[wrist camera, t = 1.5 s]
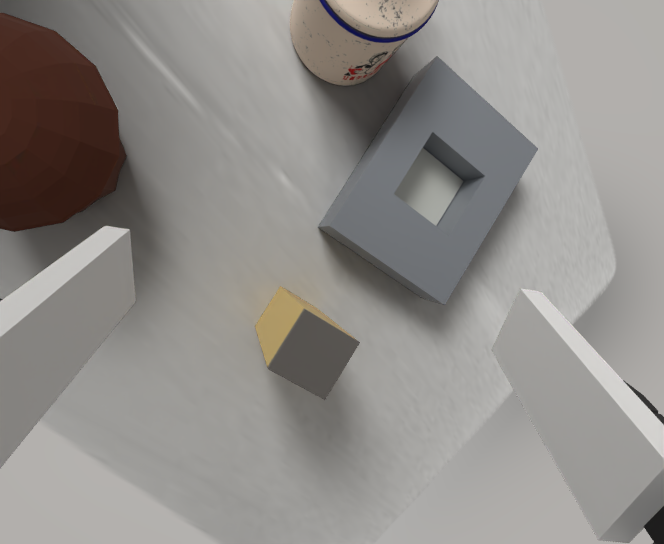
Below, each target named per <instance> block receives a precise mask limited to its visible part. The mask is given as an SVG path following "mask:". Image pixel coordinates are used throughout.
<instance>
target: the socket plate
mask: <svg viewBox="0 0 664 544" xmlns="http://www.w3.org/2000/svg"><path fill="white" fill-rule="evenodd" d="M537 150H538V148H537V147H536V146H535V145H533V144H532V143H531V142H530V141H529V140H528V139H527V138H526V137H525V136H524V135H523V134H521V133H520V132H519V131H518V130H517V129H516V128H515V127H514V126H513V125H512V124H511V123H509V122H508V121H507V120H506V119H505V118H504V117H503V116H502V115H501V114H500V113H499V112H497V111H496V110H495V109H494V108H493V107H492V106H491V105H490V104H489V103H488V102H487V101H485V100H484V99H483V98H482V97H481V96H480V95H479V94H478V93H477V92H476V91H475V90H473V89H472V88H471V87H470V86H469V85H468V84H467V83H466V82H465V81H464V80H463V79H461V78H460V77H459V76H458V75H457V74H456V73H455V72H454V71H453V70H452V69H451V68H449V67H448V66H447V65H446V64H445V63H444V62H443V61H442V60H441V59H440V58H439V57H437V56H436V57H435V58H434V59H433V60H432V61H431V62H430V63H428V64H427V65H426V66H425V67H424V68H423V69H421V70H420V71H419V72H418V73H417V74H416V75H415V76H413V78H412V80H411V81H410V83H409V84H408V86H407V87H406V89H405V91H404V92H403V94H402V95H401V97H400V98H399V100H398V102H397V103H396V105H395V106H394V108H393V110H392V111H391V113H390V114H389V116H388V117H387V119H386V121H385V122H384V124H383V125H382V127H381V128H380V130H379V132H378V133H377V135H376V136H375V138H374V139H373V141H372V143H371V144H370V146H369V147H368V149H367V151H366V152H365V154H364V155H363V157H362V158H361V160H360V162H359V163H358V165H357V166H356V168H355V169H354V171H353V173H352V174H351V176H350V177H349V179H348V180H347V182H346V184H345V185H344V187H343V188H342V190H341V192H340V193H339V195H338V196H337V198H336V199H335V201H334V203H333V204H332V206H331V207H330V209H329V210H328V212H327V214H326V215H325V217H324V218H323V220H322V222H321V223H320V225H319V226H318V228H320V229H321V230H323V231H324V232H326V233H327V234H329V235H330V236H332V237H333V238H335V239H336V240H338V241H339V242H340V243H342V244H343V245H345V246H346V247H348V248H349V249H351V250H352V251H354V252H355V253H357V254H358V255H360V256H361V257H363V258H364V259H365V260H367V261H368V262H370V263H371V264H373V265H374V266H376V267H377V268H379V269H380V270H382V271H383V272H385V273H386V274H387V275H389V276H390V277H392V278H393V279H395V280H396V281H398V282H399V283H401V284H402V285H404V286H405V287H407V288H408V289H409V290H411V291H412V292H414V293H415V294H417V295H418V296H420V297H421V298H424V299H427V300H430V301H433V302H437V303H440V304H443V305H445V304H446V302H447V300H448V299H449V297H450V295H451V294H452V292H453V290H454V289H455V287H456V285H457V284H458V282H459V280H460V279H461V277H462V275H463V274H464V272H465V270H466V269H467V267H468V265H469V264H470V262H471V260H472V259H473V257H474V255H475V254H476V252H477V250H478V249H479V247H480V245H481V244H482V242H483V240H484V239H485V237H486V235H487V234H488V232H489V230H490V229H491V227H492V225H493V224H494V222H495V220H496V218H497V217H498V215H499V213H500V212H501V210H502V208H503V207H504V205H505V203H506V202H507V200H508V198H509V197H510V195H511V193H512V192H513V190H514V188H515V187H516V185H517V183H518V182H519V180H520V178H521V177H522V175H523V173H524V172H525V170H526V168H527V167H528V165H529V163H530V162H531V160H532V158H533V157H534V155H535V153H536V152H537Z"/></svg>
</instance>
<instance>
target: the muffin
mask: <svg viewBox="0 0 664 544" xmlns="http://www.w3.org/2000/svg"><path fill="white" fill-rule="evenodd" d="M126 156H127V155H126V153H125V150H124V148H123V146H122V143H121V141H120V139H119V125H118V109H117V107H116V105H115V103H114V101H113V99H112V97H111V95H110V93H109V91H108V90H107V88H106V86H105V84H104V82H103V80H102V78H101V76H100V74H99V72H98V70H97V68H96V66H95V65H94V64H93V63H92V62H90V61H89V60H88V59H87V58H86V57H85V56H83V55H82V54H81V53H80V52H79V51H78V50H76V49H75V48H74V47H73V46H72V45H71V44H70V43H68V42H67V41H66V40H65V39H64V38H63V37H61V36H60V35H59V34H58V33H57V32H56V31H54V30H51V29H48V28H45V27H42V26H39V25H36V24H34V23H31V22H28V21H25V20H22V19H19V18H16V17H14V16H11V15H8V14H5V13H0V229H5V230H9V231H14V232H15V231H20V230H26V229H31V228H36V227H42V226H47V225H52V224H58V223H63V222H65V221H66V220H67V219H69V218H70V217H72V216H73V215H74V214H76V213H78V212H82V211H84V210H85V209H86V208H87V207H89V206H90V205H91V204H93V203H94V202H95V201H96V200H98V199H100V198H102V197H104V196H106V195H108V194H110V193H112V192H113V191H115V190H116V185H117V180H118V176H119V172H120V170H121V167H122V165H123V163H124V161H125V159H126Z"/></svg>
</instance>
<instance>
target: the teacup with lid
mask: <svg viewBox="0 0 664 544" xmlns="http://www.w3.org/2000/svg"><path fill="white" fill-rule="evenodd" d="M438 1H439V0H294V2H293V6H292V10H291V15H290V31H291V37H292V41H293V44H294V47H295V49H296V52H297V53H298V55H299V57H300V59H301V60H302V62H303V63H304V64H305V65H306V67H307V68H308V69H309V70H310V71H311V72H312V73H314V74H315V75H316V76H318V77H319V78H321V79H323V80H325V81H327V82H329V83H332V84H336V85H344V86H348V85H356V84H359V83H362V82H364V81H366V80H368V79H369V78H371V77H372V76H373V75H375V74H376V73H377V72H378V71H379V69H380V68H381V67H382V66H383V65H384V64H385V63H386V62H387V61H388V59H389V58H390V57H391V56H392V55H393V54H394V53H395V52H396V51H397V50H398V48H399V47H400V46H401V45H402V44H403V43H404V42H405V41H406V40H407V38H408V37H410V36H412V35H413V34H415V33H416V32H418V31H419V30H420V29H421V28H422V27H423V26H424V25H425V24H426V23H427V22H428V20H429V19H430V18H431V16H432V14H433V13H434V11H435V9H436V7H437V4H438Z"/></svg>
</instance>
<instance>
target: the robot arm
mask: <svg viewBox="0 0 664 544" xmlns="http://www.w3.org/2000/svg"><path fill="white" fill-rule="evenodd" d="M135 302H136V296H135V284H134V273H133V261H132V249H131V237H130V229H124V228H117V227H110V226H104V227H102V228H101V229H100V230H98V231H97V232H95V233H94V234H93V235H91V236H90V237H89V238H87V239H86V240H84V241H83V242H82V243H80V244H79V245H77V246H76V247H75V248H73V249H72V250H71V251H69V252H68V253H66V254H65V255H64V256H62V257H61V258H59V259H58V260H57V261H55V262H54V263H53V264H51V265H50V266H48V267H47V268H46V269H44V270H43V271H42V272H40V273H39V274H37V275H36V276H35V277H33V278H32V279H30V280H29V281H28V282H26V283H25V284H24V285H22V286H21V287H19V288H18V289H17V290H15V291H14V292H12V293H11V294H10V295H8V296H7V297H6V298H4V299H0V468H1V467H2V466H3V464H4V463H5V462H6V461H7V459H8V458H9V457H10V456H11V454H12V453H13V452H14V451H15V449H16V448H17V447H18V446H19V445H20V443H21V442H22V441H23V440H24V438H25V437H26V436H27V435H28V434H29V432H30V431H31V430H32V429H33V427H34V426H35V425H36V424H37V423H38V421H39V420H40V419H41V418H42V416H43V415H44V414H45V413H46V411H47V410H48V409H49V408H50V407H51V405H52V404H53V403H54V402H55V400H56V399H57V398H58V397H59V396H60V394H61V393H62V392H63V391H64V389H65V388H66V387H67V386H68V384H69V383H70V382H71V381H72V380H73V378H74V377H75V376H76V375H77V373H78V372H79V371H80V370H81V368H82V367H83V366H84V365H85V364H86V362H87V361H88V360H89V359H90V357H91V356H92V355H93V354H94V352H95V351H96V350H97V349H98V348H99V346H100V345H101V344H102V343H103V341H104V340H105V339H106V338H107V337H108V335H109V334H110V333H111V332H112V330H113V329H114V328H115V327H116V325H117V324H118V323H119V322H120V321H121V319H122V318H123V317H124V316H125V314H126V313H127V312H128V311H129V309H130V308H131V307H132V306H133V305H134V303H135ZM492 352H493V354H494V356H495V357H496V359H497V361H498V363H499V365H500V366H501V368H502V370H503V372H504V373H505V375H506V377H507V379H508V381H509V382H510V384H511V386H512V388H513V390H514V391H515V393H516V395H517V397H518V398H519V400H520V402H521V404H522V406H523V407H524V409H525V411H526V412H527V414H528V416H529V418H530V420H531V422H532V423H533V425H534V427H535V429H536V430H537V432H538V434H539V436H540V437H541V439H542V441H543V443H544V445H545V446H546V448H547V450H548V452H549V453H550V455H551V457H552V459H553V461H554V462H555V464H556V466H557V468H558V469H559V471H560V473H561V475H562V477H563V479H564V480H565V482H566V484H567V485H568V487H569V489H570V491H571V492H572V495H573V496H574V498H575V500H576V502H577V503H578V505H579V507H580V509H581V510H582V512H583V514H584V516H585V517H586V519H587V521H588V523H589V525H590V526H591V528H592V530H593V532H594V534H595V535H596V537H597V539H598V540H603V541H613V542H623V543H629V542H630V541H631V540H632V539H633V538H634V537H635V536H636V535H637V534H638V533H639V532H640V531H641V530H642V529H643V528H645V529H646V531H647V532H648V534H649V535H650V537H651V538H652V540H654V543H653V544H664V417H663V416H662V415H661V414H658V410H657V409H656V408H655V407H654V406H653V405H652V404H651V403H650V402H649V401H648V400H647V399H646V398H645V397H644V395H642V394H641V393H640V392H638V391H637V390H636V389H634V388H633V387H632V386H630V385H629V384H628V383H626V382H625V381H623V380H622V379H621V378H620V377H619V376H618V375H617V374H616V373H615V371H614V370H613V369H612V368H611V367H610V366H609V365H608V364H607V363H606V362H605V361H604V360H603V358H602V357H601V356H600V355H599V354H598V353H597V352H596V351H595V350H594V349H593V348H592V347H591V345H590V344H589V343H588V342H587V341H586V340H585V339H584V338H583V337H582V336H581V335H580V334H579V332H578V331H577V330H576V329H575V328H574V327H573V326H572V325H571V324H570V323H569V322H568V320H567V319H566V318H565V317H564V316H563V315H562V314H561V313H560V312H559V311H558V310H557V309H556V307H555V306H554V305H553V304H552V303H551V302H550V301H549V300H548V299H547V298H546V297H545V296H544V294H543V293H542V292H540V291H533V290H527V289H520V290H519V292H518V294H517V296H516V299H515V301H514V303H513V305H512V307H511V309H510V311H509V313H508V316H507V318H506V320H505V322H504V324H503V326H502V328H501V330H500V333H499V335H498V337H497V339H496V341H495V343H494V345H493V347H492Z"/></svg>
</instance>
